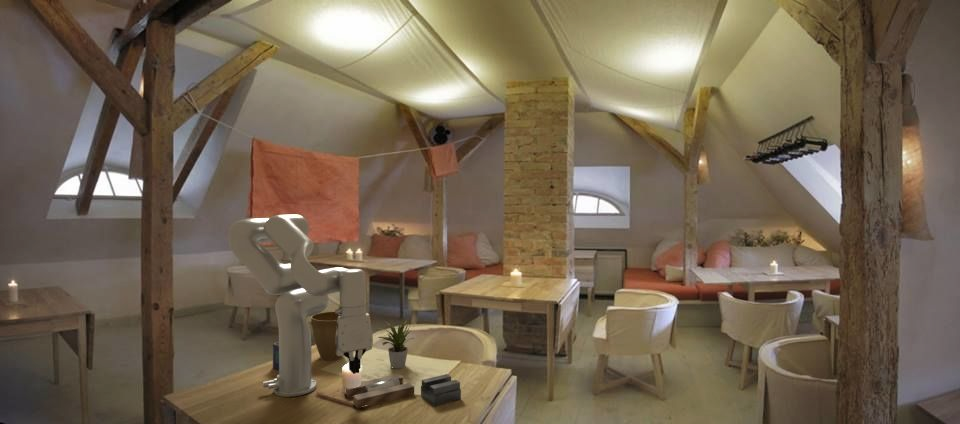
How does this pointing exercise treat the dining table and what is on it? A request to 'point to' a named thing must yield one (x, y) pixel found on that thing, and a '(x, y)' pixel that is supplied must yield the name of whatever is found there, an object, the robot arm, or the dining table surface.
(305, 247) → the robot arm
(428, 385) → the v-block
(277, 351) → the flask
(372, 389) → the axle
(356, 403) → the parallel rectangular beams
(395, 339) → the house plant
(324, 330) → the plant pot
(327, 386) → the dining table surface
